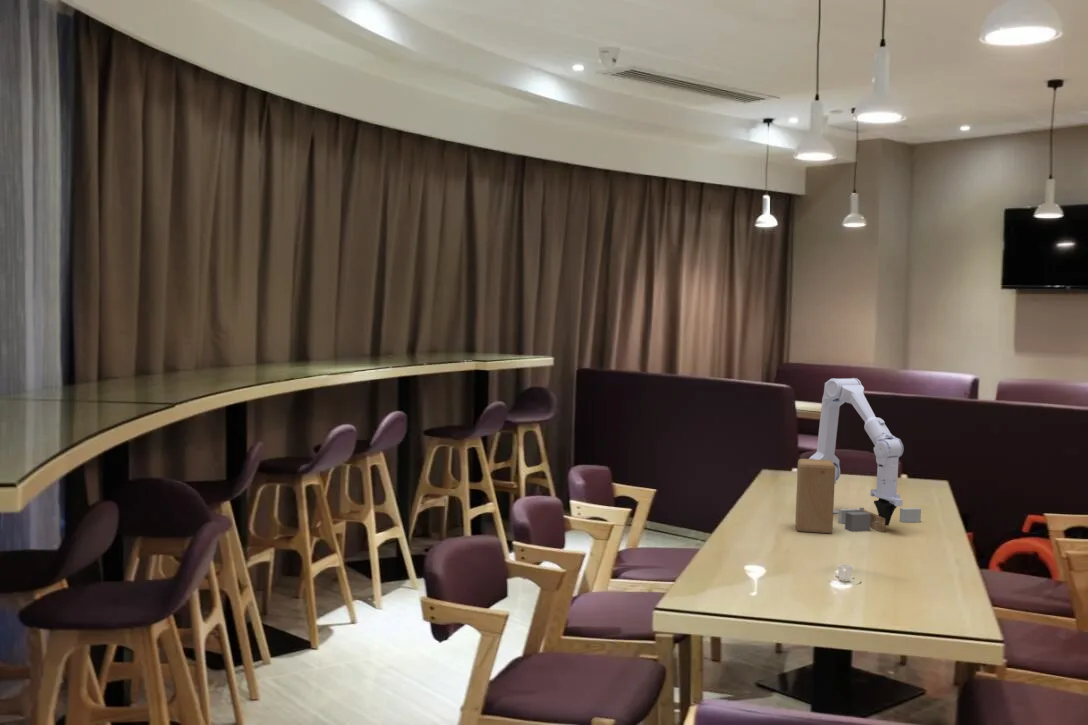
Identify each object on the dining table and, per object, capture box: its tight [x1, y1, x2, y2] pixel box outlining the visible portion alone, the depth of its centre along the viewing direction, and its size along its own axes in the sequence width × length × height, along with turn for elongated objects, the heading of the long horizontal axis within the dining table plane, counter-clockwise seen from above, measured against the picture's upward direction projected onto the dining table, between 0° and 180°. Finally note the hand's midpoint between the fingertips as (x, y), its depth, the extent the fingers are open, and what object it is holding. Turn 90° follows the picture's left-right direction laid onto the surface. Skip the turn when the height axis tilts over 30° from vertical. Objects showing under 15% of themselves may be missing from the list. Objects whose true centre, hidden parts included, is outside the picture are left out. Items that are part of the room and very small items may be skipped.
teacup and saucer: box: [834, 563, 853, 582], centre depth 240 cm, size 9×8×4 cm
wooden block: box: [794, 458, 836, 534], centre depth 292 cm, size 10×10×20 cm
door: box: [862, 509, 886, 533], centre depth 297 cm, size 12×2×4 cm, turn 12°
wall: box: [837, 507, 922, 525], centre depth 305 cm, size 26×2×4 cm, turn 100°
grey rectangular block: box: [844, 512, 871, 532], centre depth 294 cm, size 6×4×5 cm, turn 105°
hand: (884, 525), depth 295 cm, fingers closed, pressing on door
